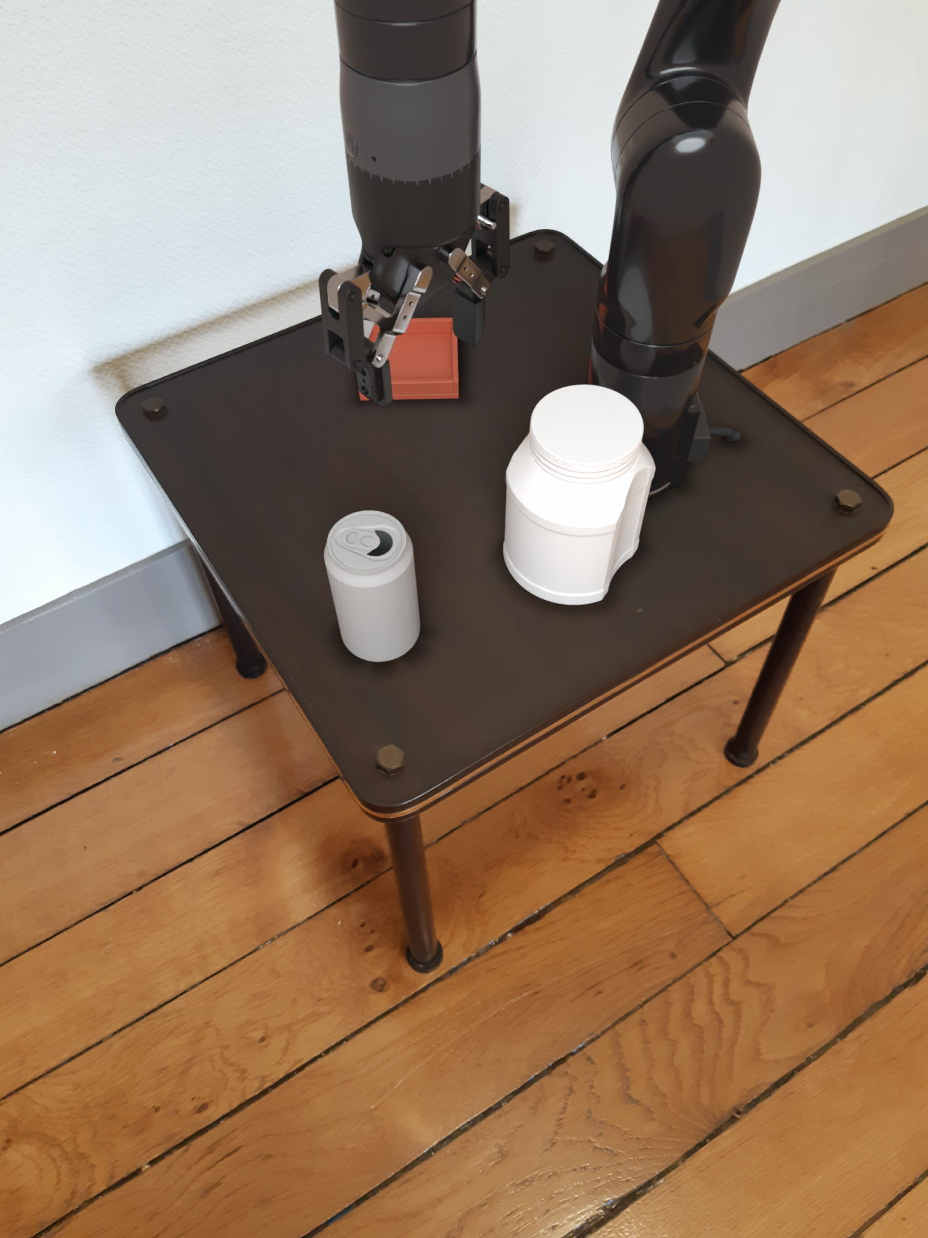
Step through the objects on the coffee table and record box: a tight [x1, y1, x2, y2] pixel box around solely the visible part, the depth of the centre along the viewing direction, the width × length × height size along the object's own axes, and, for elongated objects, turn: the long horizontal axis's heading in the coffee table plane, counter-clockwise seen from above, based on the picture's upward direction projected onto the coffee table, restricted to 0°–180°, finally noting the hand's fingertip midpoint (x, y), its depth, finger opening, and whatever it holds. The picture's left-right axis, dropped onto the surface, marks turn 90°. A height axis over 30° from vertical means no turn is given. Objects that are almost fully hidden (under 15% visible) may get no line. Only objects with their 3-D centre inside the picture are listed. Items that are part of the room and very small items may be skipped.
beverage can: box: [323, 510, 421, 663], centre depth 71 cm, size 6×6×12 cm
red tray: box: [358, 317, 460, 401], centre depth 93 cm, size 10×10×2 cm
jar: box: [502, 384, 655, 606], centre depth 75 cm, size 12×10×15 cm
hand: (424, 368), depth 65 cm, fingers open, 8 cm apart
